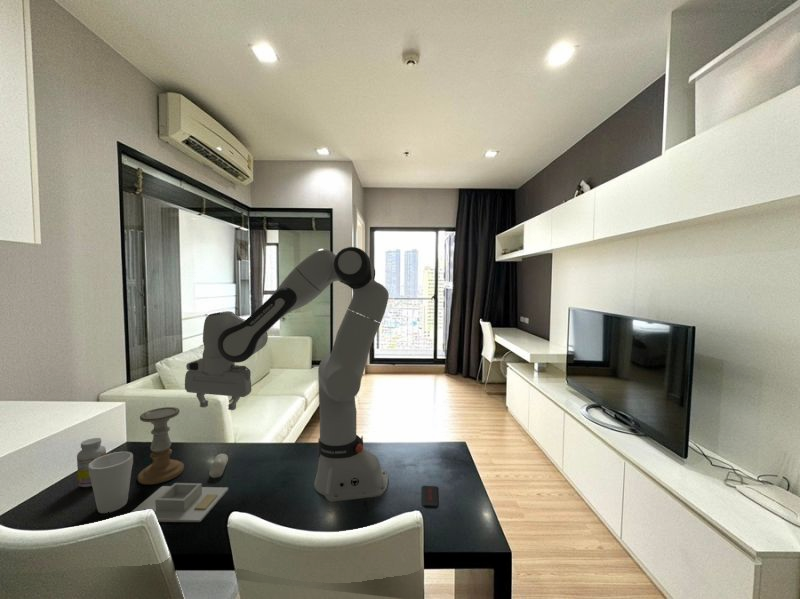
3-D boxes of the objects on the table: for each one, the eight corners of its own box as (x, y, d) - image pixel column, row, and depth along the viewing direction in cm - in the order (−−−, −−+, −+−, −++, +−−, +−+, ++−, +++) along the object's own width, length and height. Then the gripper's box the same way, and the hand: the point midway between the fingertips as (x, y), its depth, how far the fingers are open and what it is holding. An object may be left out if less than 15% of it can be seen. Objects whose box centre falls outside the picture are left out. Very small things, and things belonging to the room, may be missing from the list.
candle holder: (192, 469, 114) (191, 409, 113) (152, 489, 103) (151, 423, 102) (169, 460, 119) (168, 403, 118) (129, 479, 108) (127, 416, 107)
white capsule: (225, 470, 110) (231, 457, 118) (216, 463, 109) (222, 450, 117) (216, 480, 109) (221, 466, 117) (206, 472, 108) (212, 459, 116)
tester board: (228, 490, 102) (228, 477, 102) (200, 523, 88) (199, 508, 88) (162, 489, 103) (162, 476, 102) (123, 521, 89) (123, 506, 88)
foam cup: (108, 519, 90) (107, 471, 89) (80, 514, 91) (78, 466, 91) (142, 497, 99) (141, 453, 98) (116, 493, 101) (115, 449, 100)
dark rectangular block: (438, 493, 103) (438, 484, 103) (440, 520, 91) (440, 510, 91) (421, 492, 103) (421, 483, 103) (420, 519, 91) (420, 509, 91)
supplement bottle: (102, 473, 111) (100, 434, 110) (110, 479, 107) (109, 439, 107) (74, 483, 105) (72, 442, 104) (82, 490, 102) (81, 448, 101)
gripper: (256, 363, 108) (255, 407, 108) (196, 359, 110) (195, 402, 111) (244, 368, 101) (243, 414, 102) (181, 363, 104) (180, 408, 104)
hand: (218, 408), depth 106 cm, fingers open, 8 cm apart
